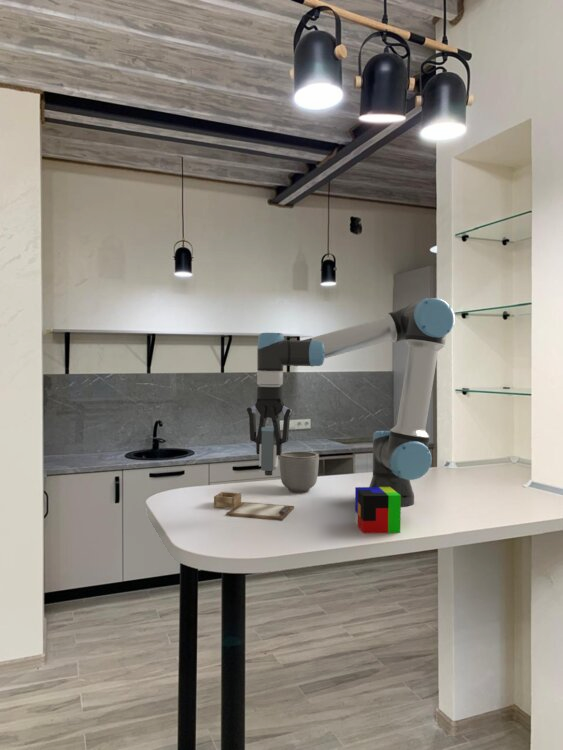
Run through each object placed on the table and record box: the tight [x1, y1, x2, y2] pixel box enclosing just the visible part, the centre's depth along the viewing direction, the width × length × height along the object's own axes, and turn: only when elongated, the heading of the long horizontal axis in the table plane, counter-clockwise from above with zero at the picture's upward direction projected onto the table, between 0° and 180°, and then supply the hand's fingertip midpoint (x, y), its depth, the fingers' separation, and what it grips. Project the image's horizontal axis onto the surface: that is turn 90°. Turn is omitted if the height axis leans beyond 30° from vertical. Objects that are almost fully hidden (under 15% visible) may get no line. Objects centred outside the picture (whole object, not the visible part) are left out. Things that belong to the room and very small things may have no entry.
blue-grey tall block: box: [260, 425, 277, 476], centre depth 160 cm, size 4×4×14 cm
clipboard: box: [225, 501, 295, 521], centre depth 165 cm, size 17×14×1 cm
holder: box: [213, 491, 242, 510], centre depth 171 cm, size 7×7×3 cm
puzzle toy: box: [354, 486, 402, 534], centre depth 150 cm, size 10×10×10 cm
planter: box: [278, 450, 320, 494], centre depth 192 cm, size 14×14×13 cm
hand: (268, 465), depth 160 cm, fingers closed on blue-grey tall block, 3 cm apart
